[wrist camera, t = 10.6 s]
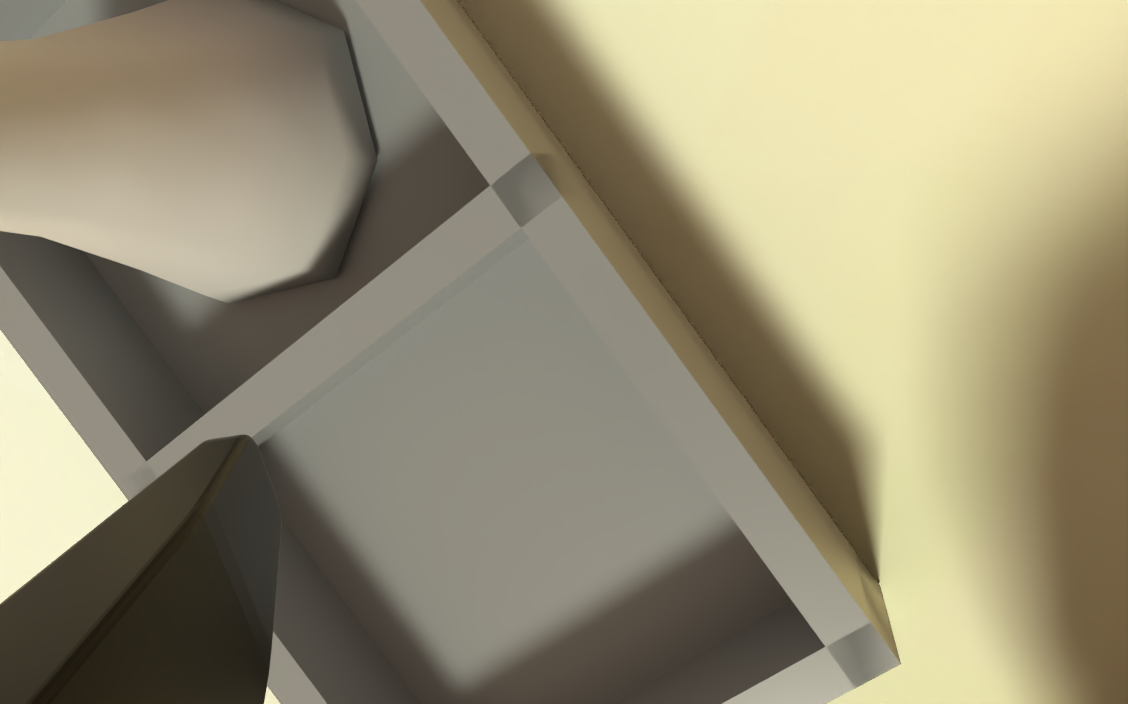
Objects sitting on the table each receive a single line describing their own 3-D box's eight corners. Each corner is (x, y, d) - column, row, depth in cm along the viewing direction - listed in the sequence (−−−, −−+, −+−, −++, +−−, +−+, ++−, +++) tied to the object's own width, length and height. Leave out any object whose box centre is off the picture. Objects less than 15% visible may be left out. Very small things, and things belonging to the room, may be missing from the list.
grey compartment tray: (880, 585, 21) (901, 663, 18) (480, 808, 25) (435, 909, 21) (275, -251, 21) (178, -334, 17) (-50, 95, 24) (-184, 83, 21)
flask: (375, 319, 22) (65, 437, 12) (101, 284, 23) (-371, 367, 14) (389, -10, 20) (47, -168, 11) (95, -25, 22) (-442, -180, 12)
